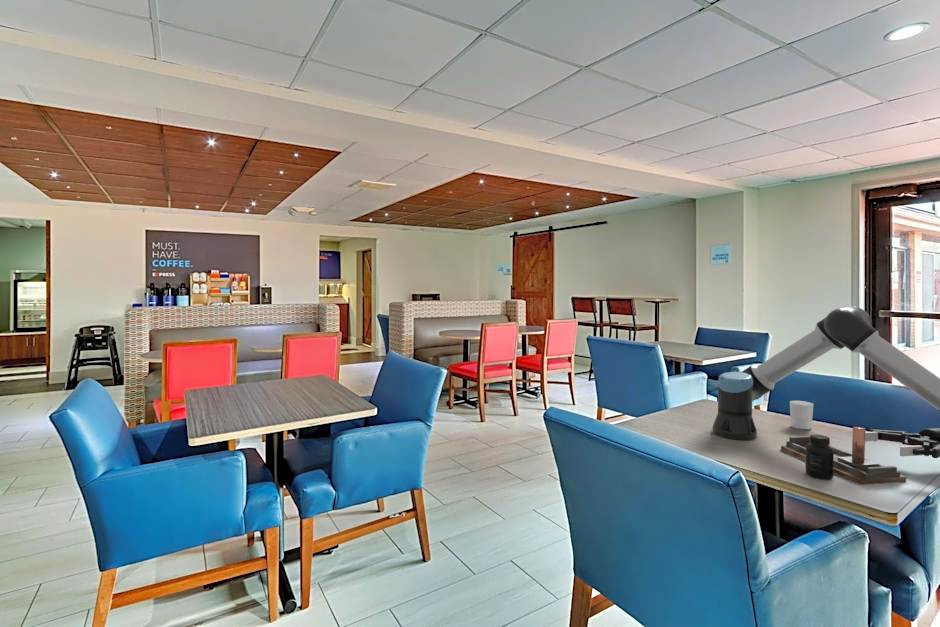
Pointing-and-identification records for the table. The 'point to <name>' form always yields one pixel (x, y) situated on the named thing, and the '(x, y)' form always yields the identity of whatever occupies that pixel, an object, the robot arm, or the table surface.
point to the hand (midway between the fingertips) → (878, 443)
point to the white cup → (801, 414)
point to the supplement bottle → (819, 457)
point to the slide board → (870, 476)
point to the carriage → (858, 452)
